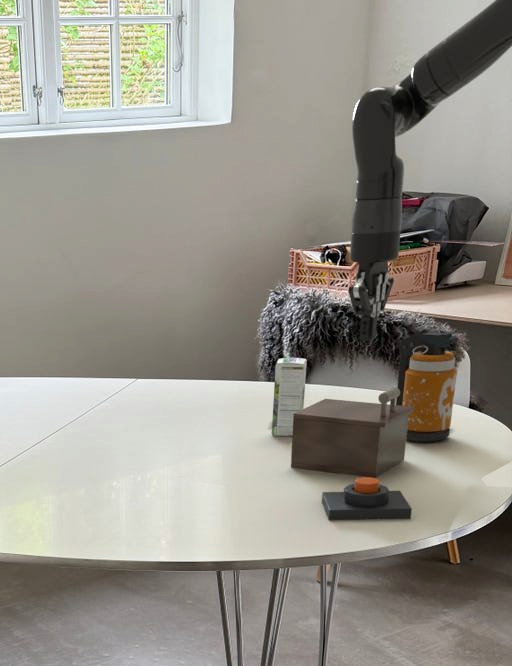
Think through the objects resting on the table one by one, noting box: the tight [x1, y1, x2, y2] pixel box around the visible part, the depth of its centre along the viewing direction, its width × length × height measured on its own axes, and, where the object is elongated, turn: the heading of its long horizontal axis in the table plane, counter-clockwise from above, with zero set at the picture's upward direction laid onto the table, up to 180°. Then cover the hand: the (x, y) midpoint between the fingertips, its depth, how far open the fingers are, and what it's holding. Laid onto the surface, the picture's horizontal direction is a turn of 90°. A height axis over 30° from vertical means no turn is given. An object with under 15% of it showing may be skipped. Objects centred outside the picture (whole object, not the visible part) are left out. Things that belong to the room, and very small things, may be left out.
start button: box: [354, 476, 380, 493], centre depth 147 cm, size 4×4×2 cm
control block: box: [321, 483, 412, 521], centre depth 148 cm, size 12×9×4 cm
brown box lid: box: [293, 386, 414, 428], centre depth 167 cm, size 17×13×5 cm
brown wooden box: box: [290, 414, 409, 479], centre depth 170 cm, size 16×13×9 cm
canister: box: [395, 329, 459, 443], centre depth 180 cm, size 9×11×20 cm
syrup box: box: [271, 357, 308, 437], centre depth 191 cm, size 6×6×14 cm
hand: (367, 340), depth 160 cm, fingers closed
